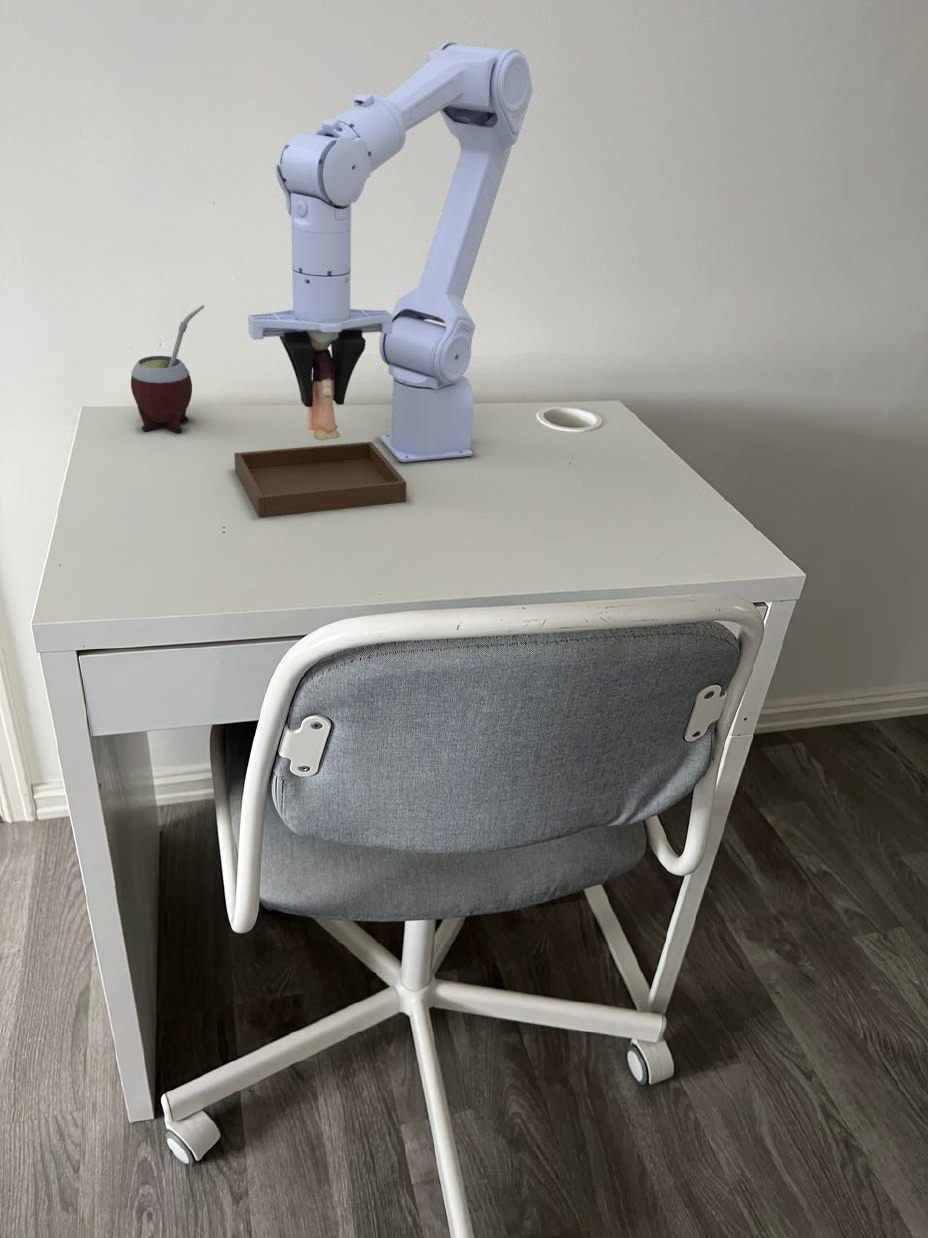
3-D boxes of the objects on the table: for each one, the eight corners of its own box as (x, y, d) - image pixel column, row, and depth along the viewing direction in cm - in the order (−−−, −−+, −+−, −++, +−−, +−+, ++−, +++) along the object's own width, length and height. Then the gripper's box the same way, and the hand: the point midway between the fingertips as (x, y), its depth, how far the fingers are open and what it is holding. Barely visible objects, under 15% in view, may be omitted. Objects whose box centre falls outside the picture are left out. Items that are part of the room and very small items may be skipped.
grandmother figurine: (299, 423, 107) (290, 307, 100) (333, 419, 109) (327, 304, 102) (317, 449, 101) (308, 328, 94) (352, 444, 103) (347, 324, 96)
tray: (371, 459, 116) (371, 441, 115) (405, 501, 107) (406, 482, 106) (235, 471, 110) (234, 452, 109) (258, 517, 101) (258, 497, 100)
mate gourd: (124, 423, 120) (110, 299, 112) (179, 410, 125) (169, 291, 117) (158, 441, 116) (146, 314, 108) (214, 427, 121) (206, 304, 113)
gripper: (257, 280, 90) (262, 420, 97) (404, 277, 95) (399, 410, 103) (241, 263, 96) (247, 397, 103) (381, 261, 101) (378, 388, 108)
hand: (322, 402), depth 103 cm, fingers closed on grandmother figurine, 3 cm apart
